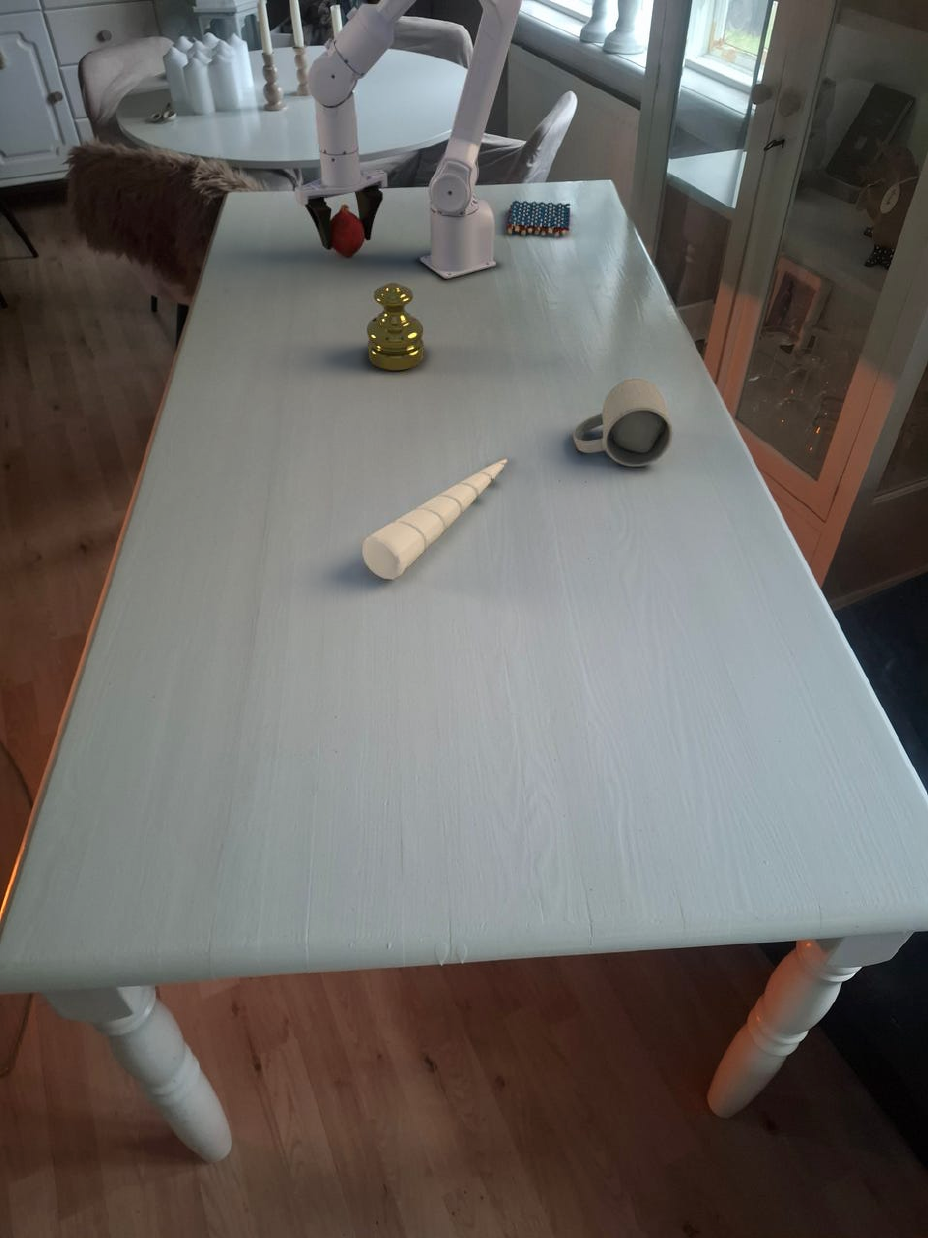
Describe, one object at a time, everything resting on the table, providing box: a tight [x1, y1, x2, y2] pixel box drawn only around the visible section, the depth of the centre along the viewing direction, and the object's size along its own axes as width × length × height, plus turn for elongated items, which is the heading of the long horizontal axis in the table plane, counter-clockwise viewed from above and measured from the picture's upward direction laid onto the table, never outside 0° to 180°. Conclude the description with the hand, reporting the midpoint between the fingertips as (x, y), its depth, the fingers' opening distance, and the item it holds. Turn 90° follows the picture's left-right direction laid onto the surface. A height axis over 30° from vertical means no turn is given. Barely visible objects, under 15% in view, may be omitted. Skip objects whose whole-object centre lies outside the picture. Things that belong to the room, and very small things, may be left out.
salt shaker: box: [366, 282, 424, 372], centre depth 112 cm, size 7×7×10 cm
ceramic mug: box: [573, 378, 674, 468], centre depth 100 cm, size 11×8×8 cm
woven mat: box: [506, 200, 571, 238], centre depth 147 cm, size 10×11×2 cm
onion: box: [330, 204, 366, 259], centre depth 134 cm, size 6×6×8 cm
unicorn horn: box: [361, 458, 508, 581], centre depth 91 cm, size 5×24×5 cm, turn 142°
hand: (346, 242), depth 135 cm, fingers open, 6 cm apart
